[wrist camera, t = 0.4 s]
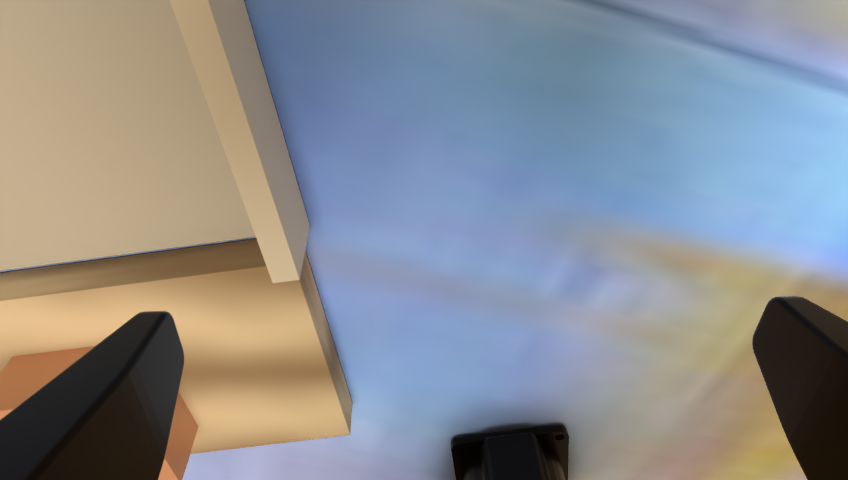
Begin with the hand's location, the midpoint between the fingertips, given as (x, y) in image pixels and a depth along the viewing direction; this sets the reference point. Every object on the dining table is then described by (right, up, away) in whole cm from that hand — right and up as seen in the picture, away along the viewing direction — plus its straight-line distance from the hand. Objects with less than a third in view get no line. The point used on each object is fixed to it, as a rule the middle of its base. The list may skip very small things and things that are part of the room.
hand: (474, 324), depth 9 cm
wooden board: (-15, -4, +19) cm, 25 cm away
